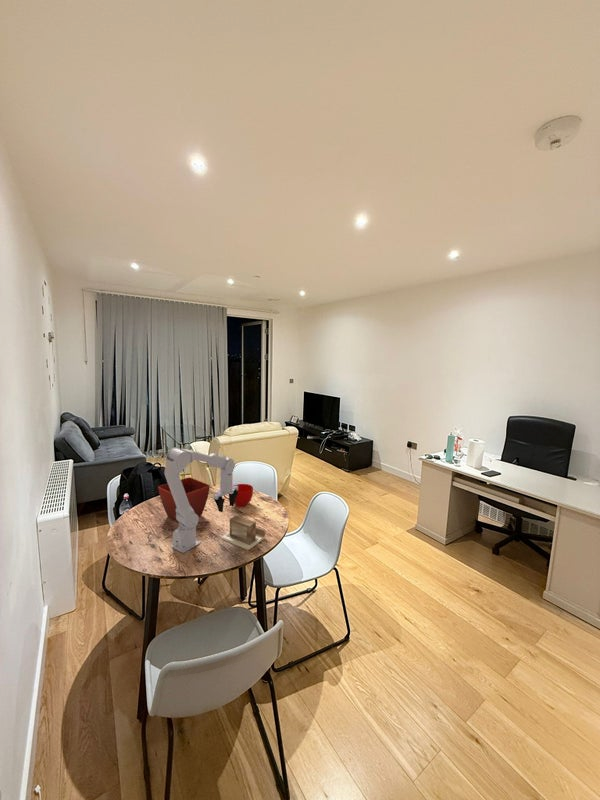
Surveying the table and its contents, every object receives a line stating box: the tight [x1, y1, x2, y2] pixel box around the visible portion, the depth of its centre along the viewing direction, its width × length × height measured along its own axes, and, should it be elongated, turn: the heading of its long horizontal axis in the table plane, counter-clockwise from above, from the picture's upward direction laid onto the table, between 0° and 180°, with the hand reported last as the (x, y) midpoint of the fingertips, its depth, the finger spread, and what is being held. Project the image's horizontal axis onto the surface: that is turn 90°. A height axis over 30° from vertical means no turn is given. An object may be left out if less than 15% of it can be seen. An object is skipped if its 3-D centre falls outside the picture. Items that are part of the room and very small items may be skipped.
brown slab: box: [229, 515, 257, 543], centre depth 149 cm, size 4×12×8 cm, turn 58°
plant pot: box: [157, 476, 211, 524], centre depth 169 cm, size 19×19×17 cm
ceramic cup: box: [223, 483, 254, 508], centre depth 186 cm, size 13×17×10 cm
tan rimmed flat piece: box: [221, 526, 266, 551], centre depth 150 cm, size 12×16×4 cm
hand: (226, 508), depth 157 cm, fingers open, 7 cm apart
